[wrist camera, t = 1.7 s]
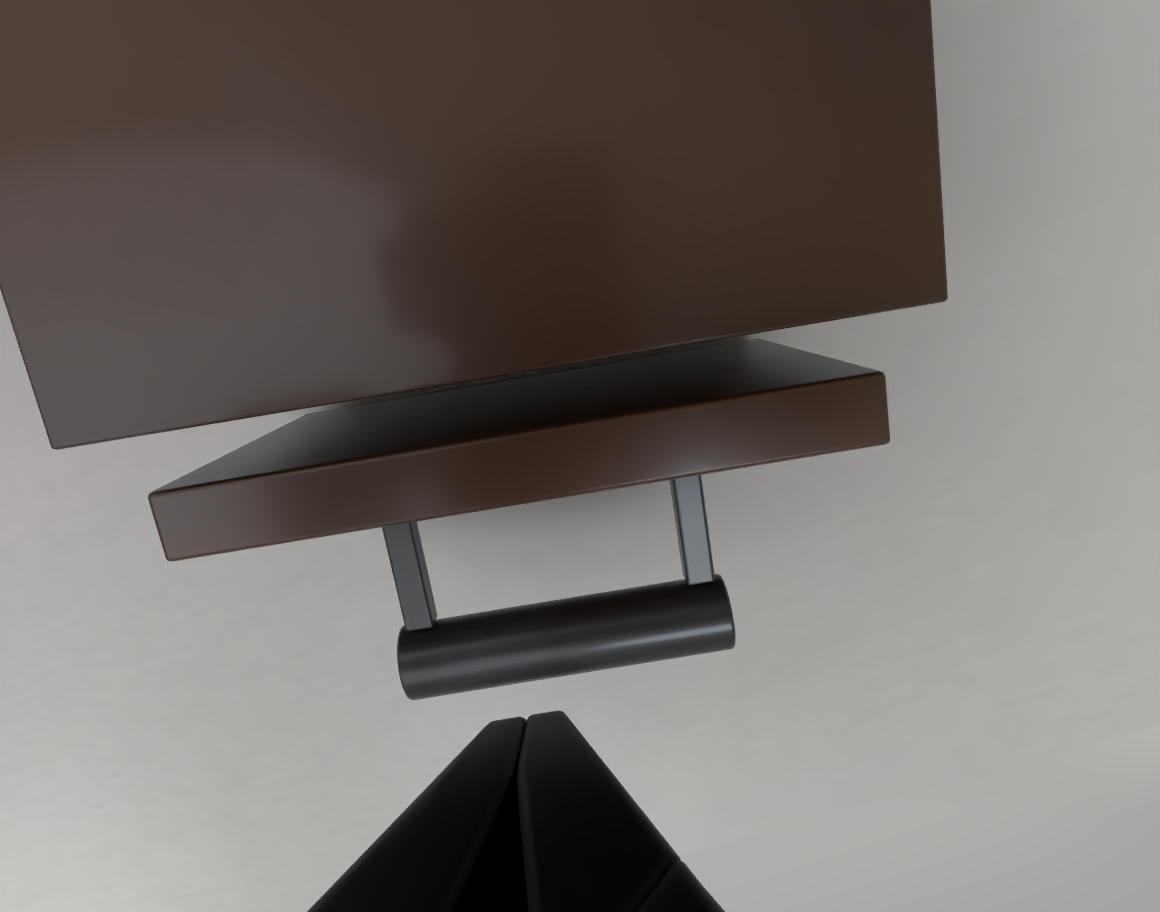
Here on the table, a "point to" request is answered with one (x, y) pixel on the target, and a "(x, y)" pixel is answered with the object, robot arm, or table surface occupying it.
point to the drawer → (533, 492)
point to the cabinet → (442, 190)
